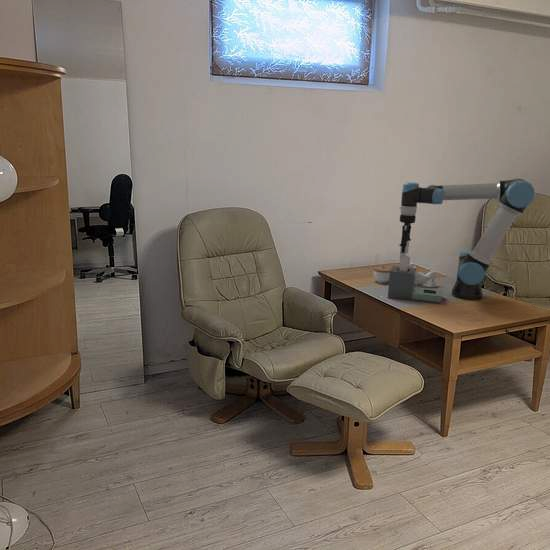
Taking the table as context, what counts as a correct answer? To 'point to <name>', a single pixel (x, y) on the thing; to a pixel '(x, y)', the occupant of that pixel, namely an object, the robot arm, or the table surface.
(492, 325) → the table surface
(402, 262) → the plug
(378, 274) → the lidded jar
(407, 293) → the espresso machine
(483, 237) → the robot arm
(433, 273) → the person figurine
